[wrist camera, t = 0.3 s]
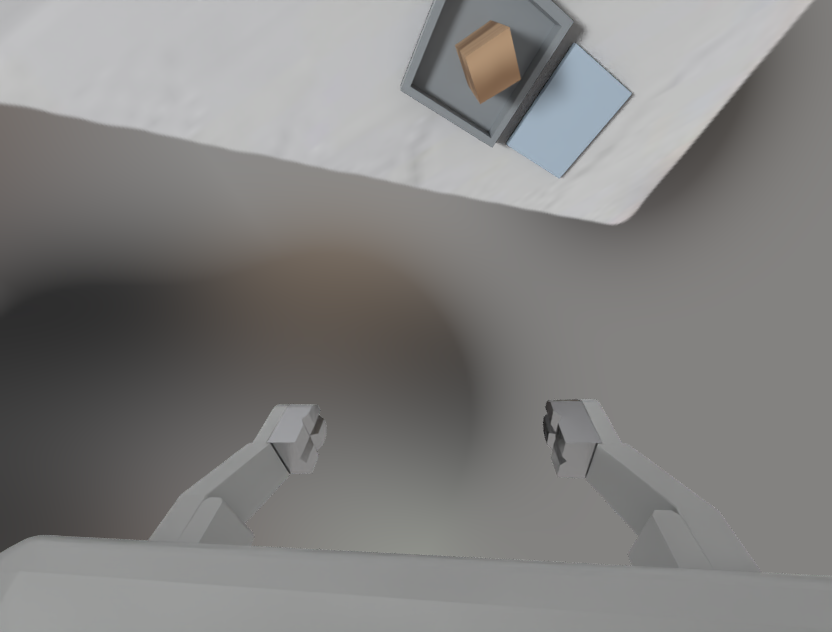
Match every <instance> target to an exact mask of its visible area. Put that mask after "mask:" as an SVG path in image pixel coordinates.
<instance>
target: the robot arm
mask: <svg viewBox="0 0 832 632" xmlns="http://www.w3.org/2000/svg"><path fill="white" fill-rule="evenodd" d="M545 408H546V411H547V414H546V415H545V416H544V418H543V432H544V436H545V440H546V443H547V445H548V446H549V447H550V448H551V449H552V454H551V459H552V463H553V466H554V469H555V472H556V475H557V477H564V478H586V481H587V482H588V483H589V484H590V485H591V486H592V487H593V488H594V489H595V490H596V492H597V493H598V494H599V495H600V496H601V497H602V498H603V499H604V500H605V501H606V502H607V503H608V504H609V505H610V507H611V508H612V509H613V510H614V511H615V512H616V513H617V514H618V515H619V516H620V517H621V518H622V519H623V520H624V522H625V523H626V524H628V526H629V527H630V528H631V529H632V530H633V531H634V532H635V533H636V534H637V535H638V537H637V539H636V541H635V542H634V544H633V545H632V547H631V549H630V550H629V552H628V554H627V555H628V557H629V560H630V562H631V565H632V566H628V565H608V564H589V563H571V562H551V561H533V560H532V561H531V560H514V559H494V558H475V557H455V556H437V555H418V554H397V553H378V552H359V551H341V550H339V551H338V550H321V549H320V550H319V549H302V548H281V547H263V546H251V543H252V541H253V539H254V533H253V532H252V531H251V529H250V528H249V527H248V526H247V525H246V524H245V523H246V522H247V521H248V520H249V519H250V518H251V517H252V516H253V515H254V514H255V513H256V512H257V510H258V509H259V508H260V507H261V506H262V505H263V504H264V503H265V502H266V501H267V500H268V498H269V497H270V496H271V495H272V494H273V493H274V492H275V491H276V490H277V489H278V488H279V487H280V485H281V484H282V483H283V482H284V481H285V480H286V479H287V478H288V477H289V476H290V474H301V473H302V474H305V473H313V470H314V467H315V465H316V462H317V460H318V457H319V454H318V451H317V450H318V449H319V448H320V447H321V446H322V445H323V444H324V441H325V438H326V431H327V427H326V422H325V419H324V418H322V417H321V416H320V415H319V414H320V411H321V410H320V408H319V406H318V405H301V404H289V405H288V404H285V405H284V404H282V405H280V404H278V405H277V406H275V407H274V408H273V410H272V411H271V413H270V415H269V416H268V418H267V420H266V421H265V423H264V425H263V427H262V428H261V430H260V431H259V433H258V435H257V436H256V438H255V440H254V441H253V443H248V444H247V445H246V446H244V447H243V448H242V449H240V450H239V451H238V452H236V453H235V454H234V455H232V456H231V457H230V458H229V459H227V460H226V461H225V462H223V463H222V464H221V465H219V466H218V467H217V468H215V469H214V470H213V471H211V472H210V473H209V474H207V475H206V476H205V477H204V478H202V479H201V480H200V481H198V482H197V483H196V484H194V485H193V486H192V487H190V488H189V489H188V490H186V491H185V492H184V493H182V494H181V495H180V496H179V498H178V499H177V501H176V502H175V503H174V505H173V506H172V508H171V509H170V510H169V512H168V513H167V515H166V516H165V517H164V519H163V520H162V522H161V523H160V524H159V526H158V527H157V529H156V530H155V532H154V533H153V534H152V536H151V537H150V538H149V540H148V541H147V540H145V541H144V540H126V539H108V538H87V537H67V536H53V535H40V536H35V537H30V538H28V539H25V540H23V541H21V542H19V543H17V544H15V545H14V546H12V547H10V548H8V549H6V550H5V551H3V552H1V553H0V632H832V576H819V575H801V574H782V573H781V574H780V573H763V572H761V570H760V569H759V567H758V566H757V565H756V563H755V562H754V560H753V559H752V558H751V556H750V555H749V553H748V552H747V550H746V549H745V548H744V546H743V545H742V543H741V542H740V540H739V539H738V538H737V536H736V535H735V533H734V532H733V530H732V529H731V528H730V526H729V525H728V523H727V522H726V520H725V519H724V517H723V516H722V515H721V513H720V512H719V511H718V510H717V509H716V508H714V507H713V506H712V505H710V504H709V503H708V502H706V501H705V500H704V499H702V498H701V497H699V496H698V495H697V494H695V493H694V492H693V491H691V490H690V489H689V488H687V487H686V486H685V485H683V484H682V483H680V482H679V481H678V480H676V479H675V478H674V477H672V476H671V475H670V474H668V473H667V472H665V471H664V470H663V469H661V468H660V467H659V466H657V465H656V464H655V463H653V462H652V461H651V460H649V459H648V458H647V457H645V456H644V455H642V454H641V453H640V452H638V451H637V450H636V449H634V448H633V447H632V446H630V445H629V444H623V443H622V442H621V440H620V438H619V437H618V435H617V433H616V431H615V429H614V427H613V426H612V424H611V422H610V420H609V418H608V417H607V415H606V413H605V411H604V410H603V408H602V406H601V404H600V403H599V401H598V400H597V399H580V400H578V399H572V400H571V399H569V400H548V401H547V402H546V406H545Z"/></svg>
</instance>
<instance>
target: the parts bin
mask: <svg viewBox="0 0 832 632" xmlns="http://www.w3.org/2000/svg"><path fill="white" fill-rule="evenodd" d="M490 20H492V21H495V22H497V23H500V24H503V25H505V26H508V27H510V31H511V36H512V40H513V45H514V50H515V54H516V59H517V63H518V68H519V72H520V77H521V80H519V81H518V82H516V83H514V84H513V85H511V86H509V87H508V88H506V89H505V90H503V91H501V92H500V93H498V94H496V95H495V96H493V97H491V98H490V99H488V100H486V101H485V102H483V103H481V104H480V103H479V101H478V100H477V98H476V97H475V95H474V94H473V92H472V91H471V89H470V88H469V86H468V84H467V81H466V78H465V74H464V71H463V68H462V65H461V62H460V59H459V56H458V53H457V50H456V47H455V45H456V44H457V43H459V42H460V41H462V40H463V39H464V38H466V37H467V36H469V35H470V34H472V33H473V32H475V31H476V30H477V29H479V28H480V27H482V26H483V25H485V24H486V23H487V22H489V21H490ZM573 22H574V21H573V20H572V19H571V18H570V17H569V16H568V15H567V14H565V13H564V12H563V11H562V10H561V9H560V8H559V7H558V6H557V5H556V4H555V3H554V2H553V1H552V0H433V3H432V6H431V8H430V11H429V13H428V16H427V18H426V21H425V24H424V26H423V29H422V31H421V34H420V36H419V39H418V42H417V44H416V47H415V49H414V52H413V55H412V57H411V60H410V62H409V65H408V67H407V70H406V73H405V75H404V78H403V80H402V83H401V91H402V92H404V93H405V94H407V95H409V96H410V97H412V98H413V99H415V100H417V101H418V102H420V103H421V104H423V105H425V106H426V107H428V108H429V109H431V110H433V111H434V112H436V113H437V114H439V115H441V116H442V117H444V118H445V119H447V120H449V121H450V122H452V123H454V124H455V125H457V126H458V127H460V128H462V129H463V130H465V131H466V132H468V133H470V134H471V135H473V136H474V137H476V138H478V139H479V140H481V141H482V142H484V143H486V144H487V145H489V146H490V147H493V146H494V144H495V143H496V141H497V140H498V138H499V137H500V135H501V133H502V132H503V130H504V129H505V127H506V126H507V124H508V123H509V121H510V120H511V118H512V116H513V115H514V113H515V112H516V110H517V109H518V107H519V106H520V104H521V103H522V101H523V99H524V98H525V96H526V95H527V93H528V92H529V90H530V89H531V87H532V86H533V84H534V82H535V81H536V79H537V78H538V76H539V75H540V73H541V72H542V70H543V69H544V67H545V65H546V64H547V62H548V61H549V59H550V58H551V56H552V55H553V53H554V52H555V50H556V48H557V47H558V45H559V44H560V42H561V41H562V39H563V38H564V36H565V35H566V33H567V31H568V30H569V28H570V27H571V25H572V24H573Z"/></svg>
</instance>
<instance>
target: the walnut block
mask: <svg viewBox="0 0 832 632" xmlns="http://www.w3.org/2000/svg"><path fill="white" fill-rule="evenodd" d="M455 47H456V50H457V53H458V56H459V59H460V62H461V65H462V68H463V71H464V74H465V78H466V81H467V84H468V86H469V88H470V89H471V91H472V92H473V94H474V95H475V97H476V98H477V100H478V101H479V103H480V104H481V103H483V102H485V101H486V100H488V99H490V98H491V97H493V96H495V95H496V94H498V93H500V92H501V91H503V90H505V89H506V88H508V87H509V86H511V85H513V84H514V83H516V82H518V81H519V80H521V77H520V72H519V68H518V63H517V59H516V54H515V50H514V45H513V40H512V36H511V31H510V27H508V26H505V25H503V24H500V23H497V22H495V21H492V20H490V21H489V22H487V23H486V24H485V25H483V26H482V27H480V28H479V29H477V30H476V31H475V32H473V33H472V34H470V35H469V36H467V37H466V38H464V39H463V40H462V41H460V42H459V43H457V44H456V45H455Z"/></svg>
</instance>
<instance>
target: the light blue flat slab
mask: <svg viewBox="0 0 832 632" xmlns="http://www.w3.org/2000/svg"><path fill="white" fill-rule="evenodd" d="M631 94H632V93H631V92H630V91H629V90H627V89H626V88H625V87H624V86H623V85H622V84H621V83H620V82H618V81H617V80H616V79H615V78H614V77H613V76H612V75H611V74H610V73H608V72H607V71H606V70H605V69H604V68H603V67H602V66H601V65H600V64H598V63H597V62H596V61H595V60H594V59H593V58H592V57H591V56H590V55H588V54H587V53H586V52H585V51H584V50H583V49H582V48H581V47H579V46H578V45H577V44H576V43H573V44H572V46H571V47H570V49H569V50H568V52H567V53H566V55H565V56H564V58H563V59H562V61H561V62H560V64H559V65H558V67H557V68H556V70H555V71H554V73H553V74H552V76H551V77H550V78H549V80H548V81H547V83H546V84H545V86H544V87H543V89H542V90H541V92H540V93H539V95H538V96H537V98H536V99H535V101H534V102H533V104H532V105H531V107H530V108H529V110H528V111H527V113H526V114H525V116H524V117H523V119H522V120H521V122H520V123H519V125H518V126H517V128H516V129H515V131H514V132H513V134H512V135H511V137H510V138H509V140H508V141H507V143H506V144H507V145H508V146H509V147H511V148H512V149H514V150H516V151H517V152H519V153H520V154H522V155H523V156H525V157H526V158H528V159H530V160H531V161H533V162H534V163H536V164H537V165H539V166H540V167H542V168H544V169H545V170H547V171H548V172H550V173H551V174H553V175H554V176H556V177H558V178H560V177H561V176H562V175H563V174H564V173H565V171H566V170H567V169H568V168H569V167H570V166H571V164H572V163H573V162H574V161H575V160H576V159H577V157H578V156H579V155H580V154H581V153H582V152H583V150H584V149H585V148H586V147H587V146H588V145H589V143H590V142H591V141H592V140H593V139H594V138H595V136H596V135H597V134H598V133H599V132H600V131H601V129H602V128H603V127H604V126H605V125H606V124H607V122H608V121H609V120H610V119H611V118H612V117H613V115H614V114H615V113H616V112H617V111H618V110H619V108H620V107H621V106H622V105H623V104H624V103H625V101H626V100H627V99H628V98H629V97H630V96H631Z"/></svg>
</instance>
